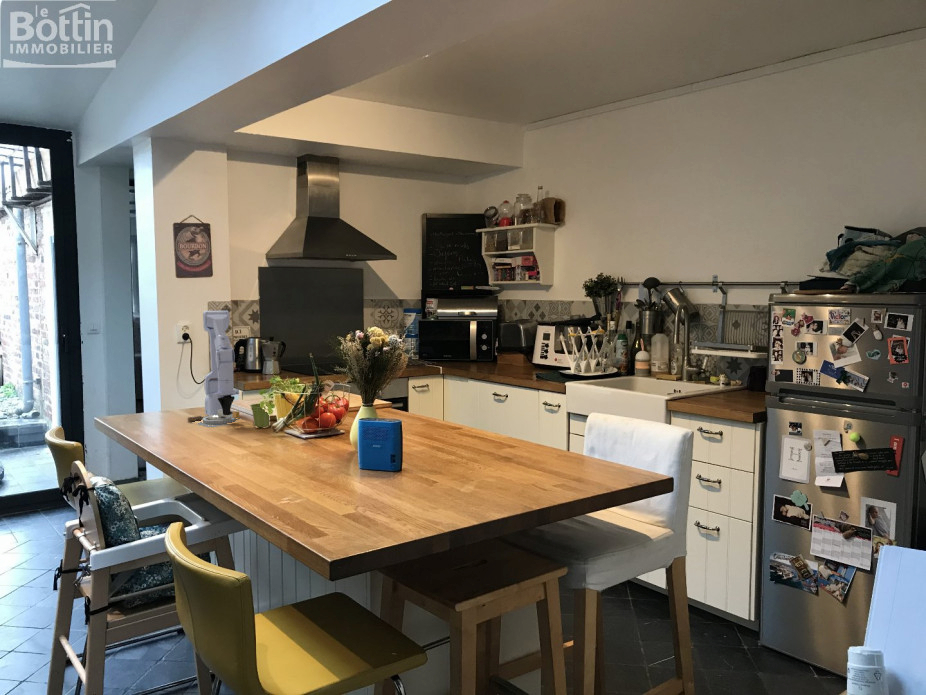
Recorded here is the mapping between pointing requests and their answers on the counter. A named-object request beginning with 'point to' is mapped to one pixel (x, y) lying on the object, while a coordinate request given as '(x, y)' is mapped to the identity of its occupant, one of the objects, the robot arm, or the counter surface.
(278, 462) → the counter surface
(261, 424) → the plant pot
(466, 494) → the counter surface
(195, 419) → the screwdriver
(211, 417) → the dial
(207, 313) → the robot arm
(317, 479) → the counter surface
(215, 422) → the board
